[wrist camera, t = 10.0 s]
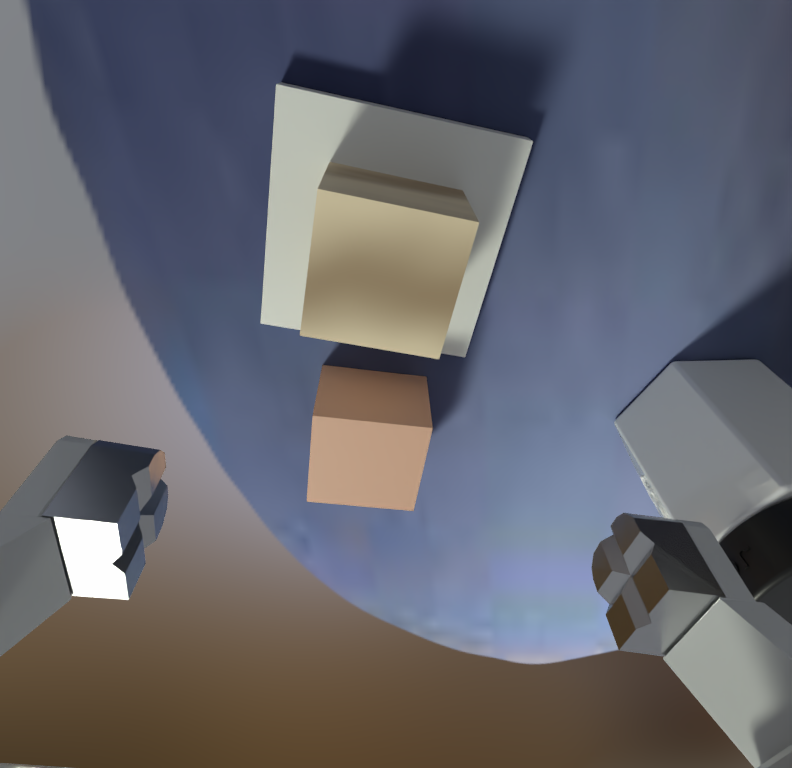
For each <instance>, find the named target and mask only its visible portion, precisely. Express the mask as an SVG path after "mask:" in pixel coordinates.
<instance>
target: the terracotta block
mask: <svg viewBox="0 0 792 768" xmlns="http://www.w3.org/2000/svg"><path fill="white" fill-rule="evenodd" d="M432 429H433V427H432V418H431V410H430V402H429V393H428V385H427V377H425V376H416V375H407V374H398V373H390V372H381V371H372V370H363V369H354V368H345V367H336V366H327V365H322V370H321V375H320V381H319V386H318V391H317V396H316V401H315V407H314V412H313V419H312V434H311V448H310V462H309V477H308V491H307V502H318V503H329V504H340V505H352V506H363V507H374V508H386V509H397V510H408V511H414V507H415V502H416V498H417V494H418V489H419V485H420V481H421V476H422V472H423V468H424V464H425V459H426V455H427V451H428V446H429V442H430V438H431V433H432Z"/></svg>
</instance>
